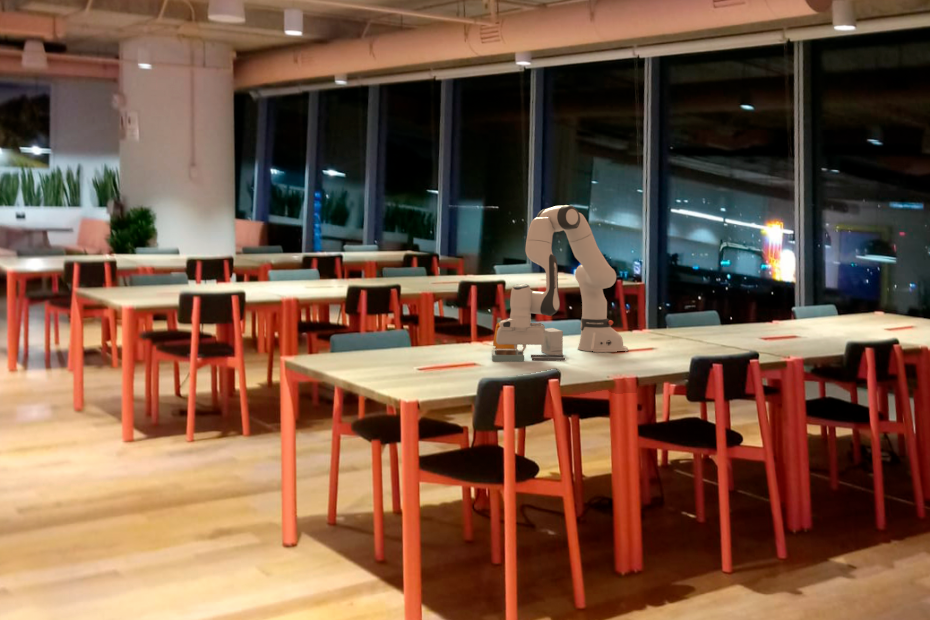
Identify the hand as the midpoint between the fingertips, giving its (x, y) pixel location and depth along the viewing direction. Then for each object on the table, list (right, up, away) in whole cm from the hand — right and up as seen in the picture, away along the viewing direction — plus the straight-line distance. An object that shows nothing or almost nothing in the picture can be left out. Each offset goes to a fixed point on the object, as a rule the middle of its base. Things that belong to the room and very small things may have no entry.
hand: (519, 354), depth 435 cm
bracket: (-5, +1, +29) cm, 30 cm away
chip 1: (-8, -2, 0) cm, 8 cm away
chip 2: (-4, -2, 0) cm, 4 cm away
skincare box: (+15, 0, +17) cm, 23 cm away
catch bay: (-5, -2, 0) cm, 5 cm away
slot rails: (+12, -2, 0) cm, 12 cm away
